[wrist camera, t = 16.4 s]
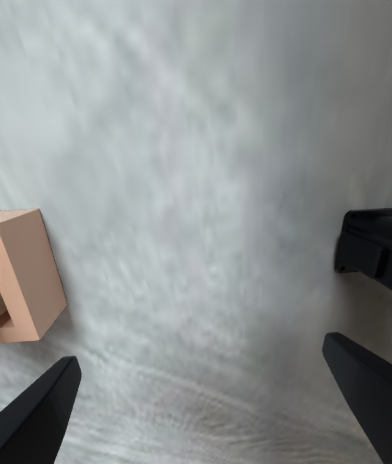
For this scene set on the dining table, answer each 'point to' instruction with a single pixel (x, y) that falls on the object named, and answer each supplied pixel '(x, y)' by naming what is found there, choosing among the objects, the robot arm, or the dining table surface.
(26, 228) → the socket
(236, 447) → the dining table surface
